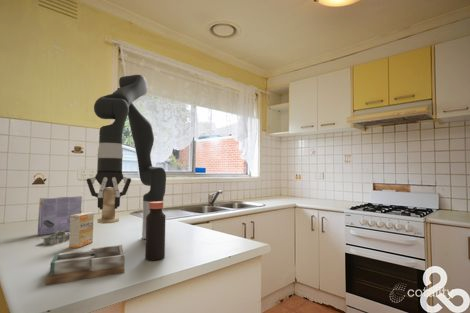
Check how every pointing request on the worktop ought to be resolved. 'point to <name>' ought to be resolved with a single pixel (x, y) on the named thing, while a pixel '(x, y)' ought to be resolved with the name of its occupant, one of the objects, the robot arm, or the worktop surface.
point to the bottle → (155, 232)
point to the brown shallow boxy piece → (86, 264)
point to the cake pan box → (57, 213)
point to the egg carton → (56, 238)
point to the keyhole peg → (108, 207)
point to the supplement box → (81, 229)
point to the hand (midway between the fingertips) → (108, 208)
